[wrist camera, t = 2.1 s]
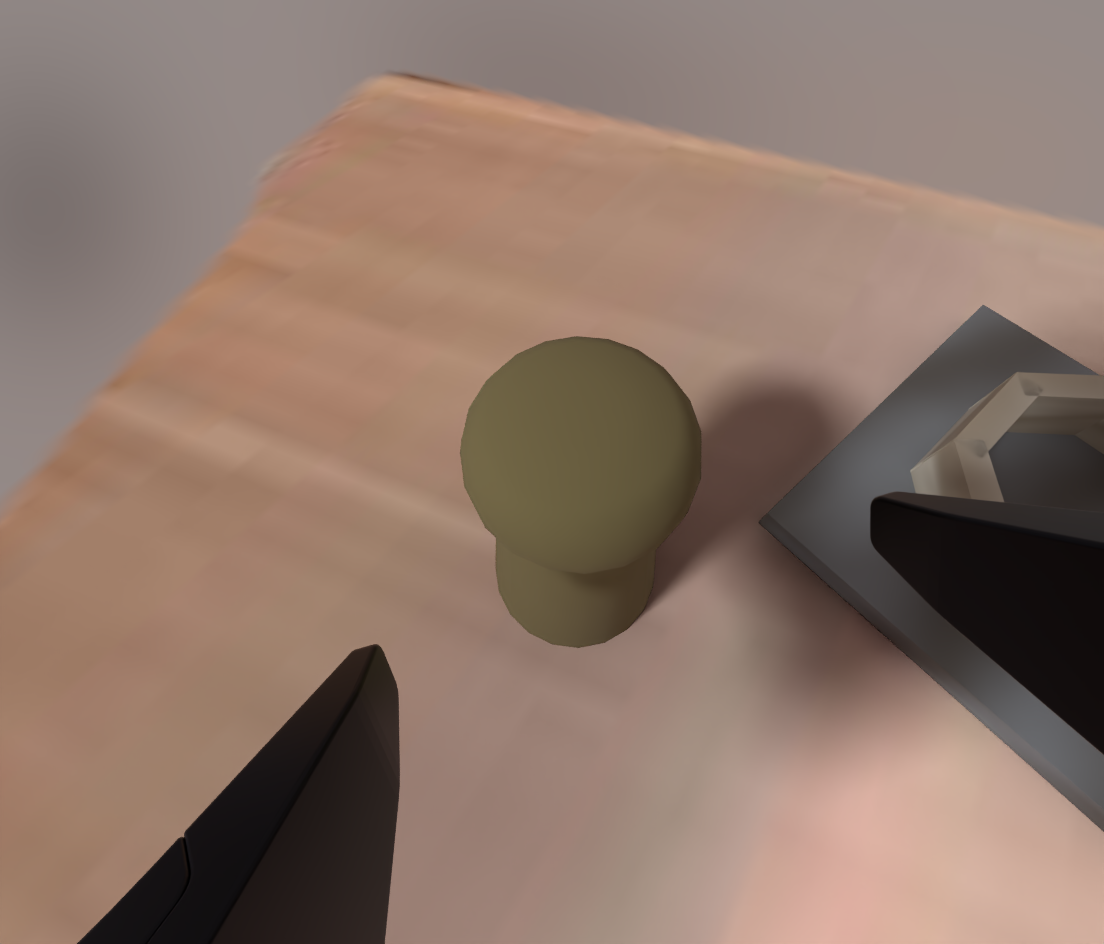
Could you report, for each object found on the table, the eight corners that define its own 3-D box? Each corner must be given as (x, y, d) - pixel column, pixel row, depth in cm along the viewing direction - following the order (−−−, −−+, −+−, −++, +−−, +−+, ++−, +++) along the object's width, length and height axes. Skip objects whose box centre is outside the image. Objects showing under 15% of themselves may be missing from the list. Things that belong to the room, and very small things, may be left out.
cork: (554, 465, 22) (542, 252, 12) (683, 543, 20) (797, 374, 10) (463, 585, 20) (356, 450, 10) (599, 683, 18) (638, 642, 8)
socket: (1343, 554, 19) (1497, 522, 16) (1162, 883, 15) (1317, 927, 12) (967, 320, 24) (1028, 260, 21) (758, 522, 20) (793, 486, 17)
